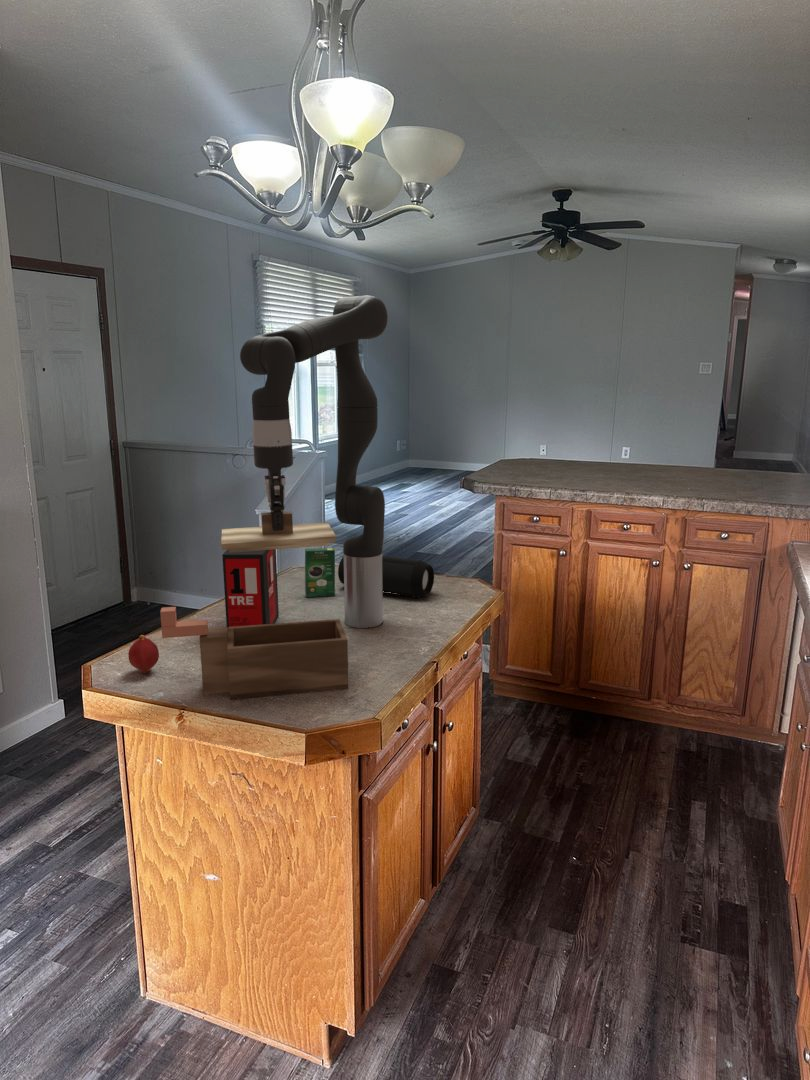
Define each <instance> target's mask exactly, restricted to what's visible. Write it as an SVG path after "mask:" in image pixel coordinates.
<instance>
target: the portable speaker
mask: <svg viewBox="0 0 810 1080" xmlns="http://www.w3.org/2000/svg"><path fill="white" fill-rule="evenodd" d="M382 565H383V591H384V592H391V593H397V594H400V595H399V596H402V595H407V596H406V597H410V596H415V597H414V598H419V597H418V596H421V597H426V596H428V595H429V594H430V593H431V592H432V589H433V586H434V582H435V571H434V568H433V566H432V564H429V563H427V562H426V561H423V560H420V559H413V558H412V559H410V558H402V557H393V556H388V555H387V556H385V555H382ZM337 574H338V576H337V577H338V580H339V581H340V583H341V584H343V585H344V556H342V558H341V559H340V561H339V564H338V569H337Z"/></svg>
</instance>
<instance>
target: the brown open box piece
mask: <svg viewBox="0 0 810 1080" xmlns="http://www.w3.org/2000/svg"><path fill="white" fill-rule="evenodd" d="M342 625H343V624H342V622H341V620H340V619H339V618H335V619H321V620H309V621H308V620H307V621H294V622H292V621H291V622H279V623H278V622H277V623H275V624H264V625H250V626H236V627H227V626H225V627H213V628H211V627H210V628H208V633H207V635H199V651H200V665H201V680H202V691H203V693H202V694H203V695H210V694H211V695H213V694H214V695H215V694H224V693H229V698H230V701H233V700H234V701H235V700H245V699H254V698H265V697H276V696H278V697H279V696H286V695H296V694H299V695H300V694H309V693H318V692H328V691H329V692H330V691H342V690H349V660H348V659H349V648H348V647H349V645H348V644H349V643H348V637H347V634H346V632H345V630H344V627H343V626H342Z"/></svg>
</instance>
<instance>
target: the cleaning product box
mask: <svg viewBox="0 0 810 1080" xmlns="http://www.w3.org/2000/svg"><path fill="white" fill-rule="evenodd" d="M221 557H222V571H223V572H222V573H223V586H224V587H223V588H224V602H225V603H224V606H225V620H226V623H225V624H226V627H236V626H250V625H264V624H277V621H278V618H279V616H280V615H279V614H280V613H279V593H278V592H279V591H278V569H277V568H278V567H277V566H278V565H277V549H271V550H257V551H242V552H229V549H228V550H224V552H223V554H222V556H221Z"/></svg>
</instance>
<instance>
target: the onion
mask: <svg viewBox="0 0 810 1080" xmlns="http://www.w3.org/2000/svg"><path fill="white" fill-rule="evenodd" d="M159 658H160V652H159V648H158V646H157V644H156V643H155V642H153V641H152V640H151V639H149V638H147V637H146V636H145V635H144V634H141V635H140V636H139V637H138V639H137V640H136V641H134V642H133V643H132V645H131V646H130V647H129V649H128V661H129V664H130V665H131V666H132V667H133V668H135V669H137V670H138V671H140V672H141V673H143V674H144V673H145V674H146V673H147V672H149V671H150V670H151V669H152V668H153V667H155V665H156V664H157V663H158V662H159Z"/></svg>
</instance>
